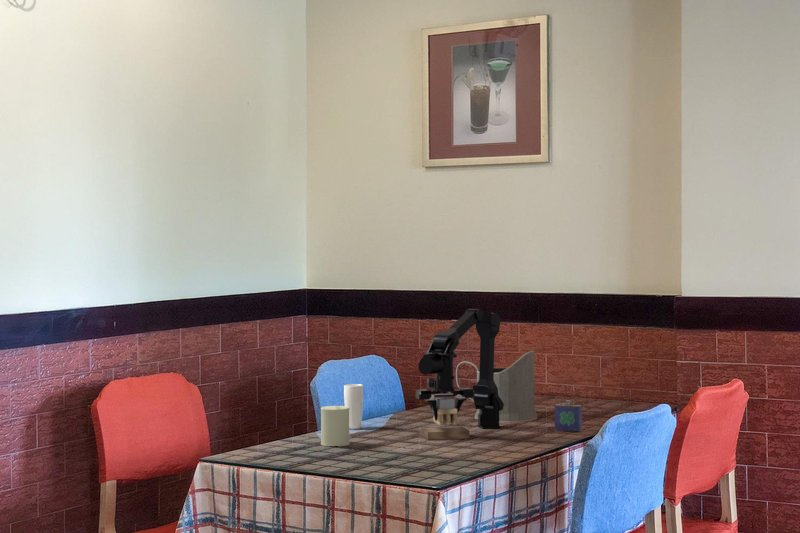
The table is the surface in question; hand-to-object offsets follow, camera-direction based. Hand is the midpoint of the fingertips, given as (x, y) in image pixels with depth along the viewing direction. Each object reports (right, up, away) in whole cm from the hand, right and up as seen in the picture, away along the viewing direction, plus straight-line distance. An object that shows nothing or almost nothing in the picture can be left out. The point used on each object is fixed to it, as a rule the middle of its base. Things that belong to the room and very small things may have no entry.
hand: (445, 419), depth 325 cm
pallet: (0, -1, 0) cm, 1 cm away
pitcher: (+21, -6, +45) cm, 49 cm away
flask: (+42, -6, +9) cm, 43 cm away
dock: (0, -6, 0) cm, 6 cm away
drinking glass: (-31, -6, +19) cm, 37 cm away
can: (-35, -6, -12) cm, 38 cm away
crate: (0, +4, 0) cm, 4 cm away
